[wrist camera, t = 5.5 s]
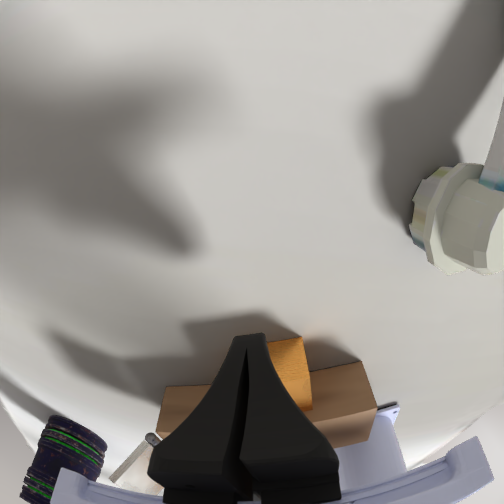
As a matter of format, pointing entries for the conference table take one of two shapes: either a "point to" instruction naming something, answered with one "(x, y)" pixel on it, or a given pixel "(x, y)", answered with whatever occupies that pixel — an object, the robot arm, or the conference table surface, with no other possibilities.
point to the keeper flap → (138, 469)
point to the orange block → (292, 370)
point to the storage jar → (62, 457)
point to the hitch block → (322, 416)
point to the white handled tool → (464, 213)
